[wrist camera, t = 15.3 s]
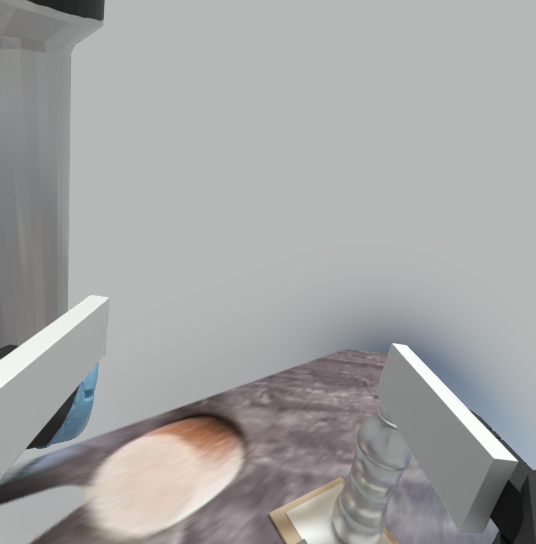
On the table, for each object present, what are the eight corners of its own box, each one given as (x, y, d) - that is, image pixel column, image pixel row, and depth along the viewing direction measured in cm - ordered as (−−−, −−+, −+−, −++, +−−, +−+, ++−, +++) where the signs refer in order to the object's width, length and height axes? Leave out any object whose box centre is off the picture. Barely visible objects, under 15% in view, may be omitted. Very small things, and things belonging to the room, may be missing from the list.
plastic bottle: (328, 549, 40) (373, 416, 35) (329, 500, 46) (367, 382, 41) (380, 569, 39) (434, 435, 34) (374, 516, 45) (418, 397, 40)
